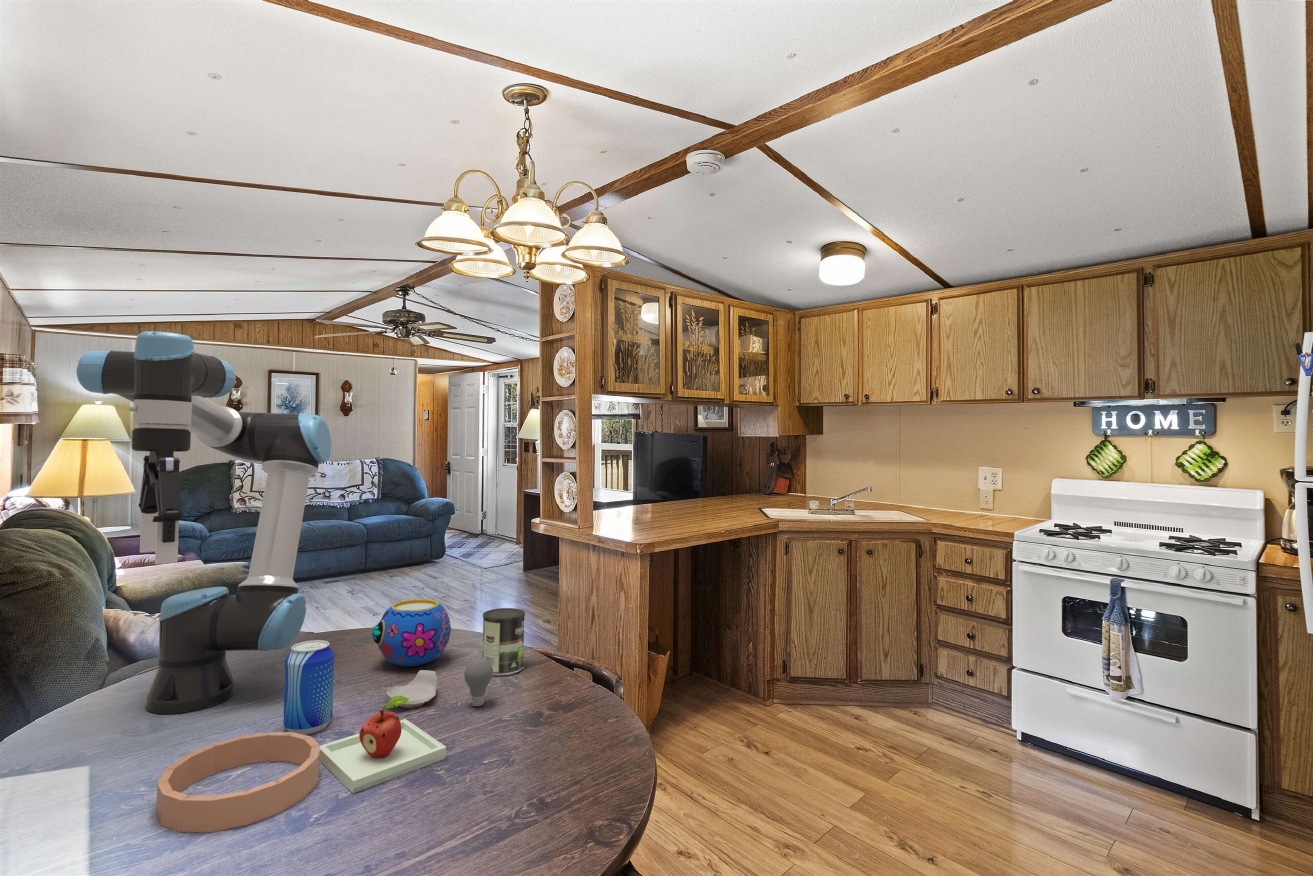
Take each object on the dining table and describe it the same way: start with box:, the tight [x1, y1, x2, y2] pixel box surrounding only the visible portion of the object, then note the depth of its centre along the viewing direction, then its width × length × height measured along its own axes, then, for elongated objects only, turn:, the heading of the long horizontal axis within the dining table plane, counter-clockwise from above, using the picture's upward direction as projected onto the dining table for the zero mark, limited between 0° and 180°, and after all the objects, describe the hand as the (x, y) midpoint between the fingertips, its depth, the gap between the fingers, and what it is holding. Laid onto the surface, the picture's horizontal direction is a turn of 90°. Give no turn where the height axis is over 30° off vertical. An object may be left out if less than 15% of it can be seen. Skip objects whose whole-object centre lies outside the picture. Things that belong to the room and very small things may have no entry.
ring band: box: [155, 731, 321, 833], centre depth 99 cm, size 21×21×4 cm
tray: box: [320, 718, 447, 794], centre depth 110 cm, size 16×16×2 cm
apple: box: [358, 695, 409, 757], centre depth 110 cm, size 8×7×10 cm
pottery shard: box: [382, 669, 438, 709], centre depth 135 cm, size 10×11×5 cm
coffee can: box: [481, 607, 526, 674], centre depth 155 cm, size 10×10×14 cm
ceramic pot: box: [371, 598, 452, 668], centre depth 158 cm, size 18×18×15 cm
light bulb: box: [463, 657, 494, 707], centre depth 133 cm, size 6×6×10 cm
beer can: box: [283, 639, 335, 735], centre depth 122 cm, size 8×8×16 cm
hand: (157, 557), depth 101 cm, fingers open, 13 cm apart
